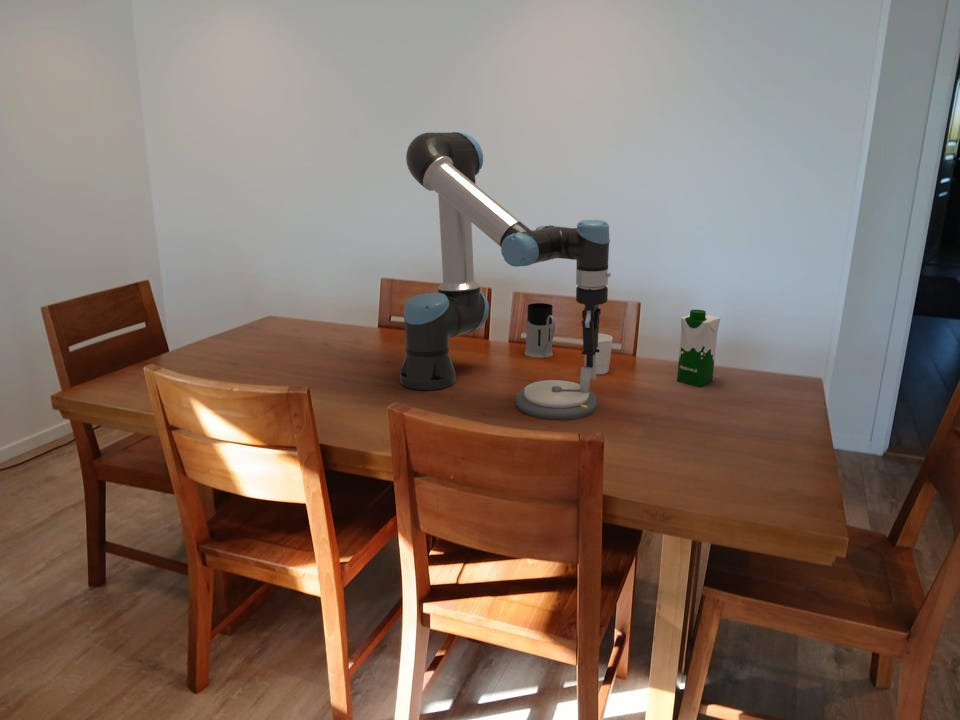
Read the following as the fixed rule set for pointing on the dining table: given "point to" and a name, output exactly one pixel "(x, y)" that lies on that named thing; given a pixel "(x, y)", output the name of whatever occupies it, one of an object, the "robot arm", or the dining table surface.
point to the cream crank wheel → (560, 392)
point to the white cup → (603, 353)
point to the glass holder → (539, 330)
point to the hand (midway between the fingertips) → (590, 378)
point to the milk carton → (697, 348)
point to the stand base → (556, 412)
